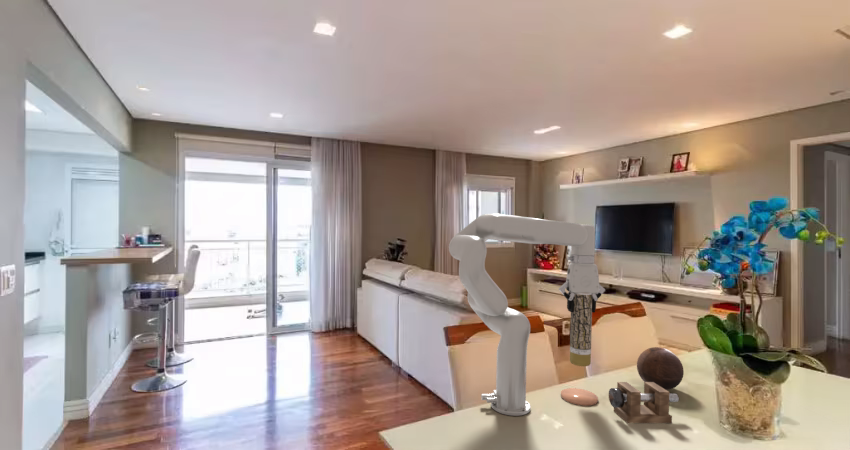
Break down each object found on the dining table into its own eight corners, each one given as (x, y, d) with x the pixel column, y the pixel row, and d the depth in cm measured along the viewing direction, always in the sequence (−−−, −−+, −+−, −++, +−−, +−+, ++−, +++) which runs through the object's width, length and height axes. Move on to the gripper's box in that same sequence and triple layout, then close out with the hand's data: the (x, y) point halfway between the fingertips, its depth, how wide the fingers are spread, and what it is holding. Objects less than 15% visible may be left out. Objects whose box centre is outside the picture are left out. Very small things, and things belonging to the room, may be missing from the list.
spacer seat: (569, 405, 136) (569, 402, 136) (555, 390, 148) (555, 388, 148) (604, 405, 136) (604, 402, 136) (588, 390, 148) (588, 388, 148)
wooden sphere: (693, 396, 146) (694, 354, 146) (655, 398, 144) (656, 355, 144) (662, 380, 161) (663, 341, 161) (627, 381, 158) (628, 342, 158)
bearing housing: (627, 423, 125) (628, 392, 125) (613, 411, 133) (614, 382, 132) (671, 422, 125) (672, 392, 125) (655, 410, 133) (656, 381, 133)
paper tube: (592, 368, 138) (594, 293, 138) (571, 366, 139) (572, 292, 139) (588, 361, 145) (590, 290, 145) (568, 359, 146) (570, 289, 146)
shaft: (617, 410, 126) (618, 392, 126) (608, 402, 131) (608, 385, 131) (682, 410, 127) (682, 392, 127) (670, 402, 132) (670, 385, 132)
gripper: (562, 260, 138) (561, 313, 138) (612, 261, 139) (611, 314, 139) (553, 258, 145) (552, 309, 145) (601, 259, 146) (600, 309, 146)
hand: (581, 311), depth 142 cm, fingers closed on paper tube, 6 cm apart
